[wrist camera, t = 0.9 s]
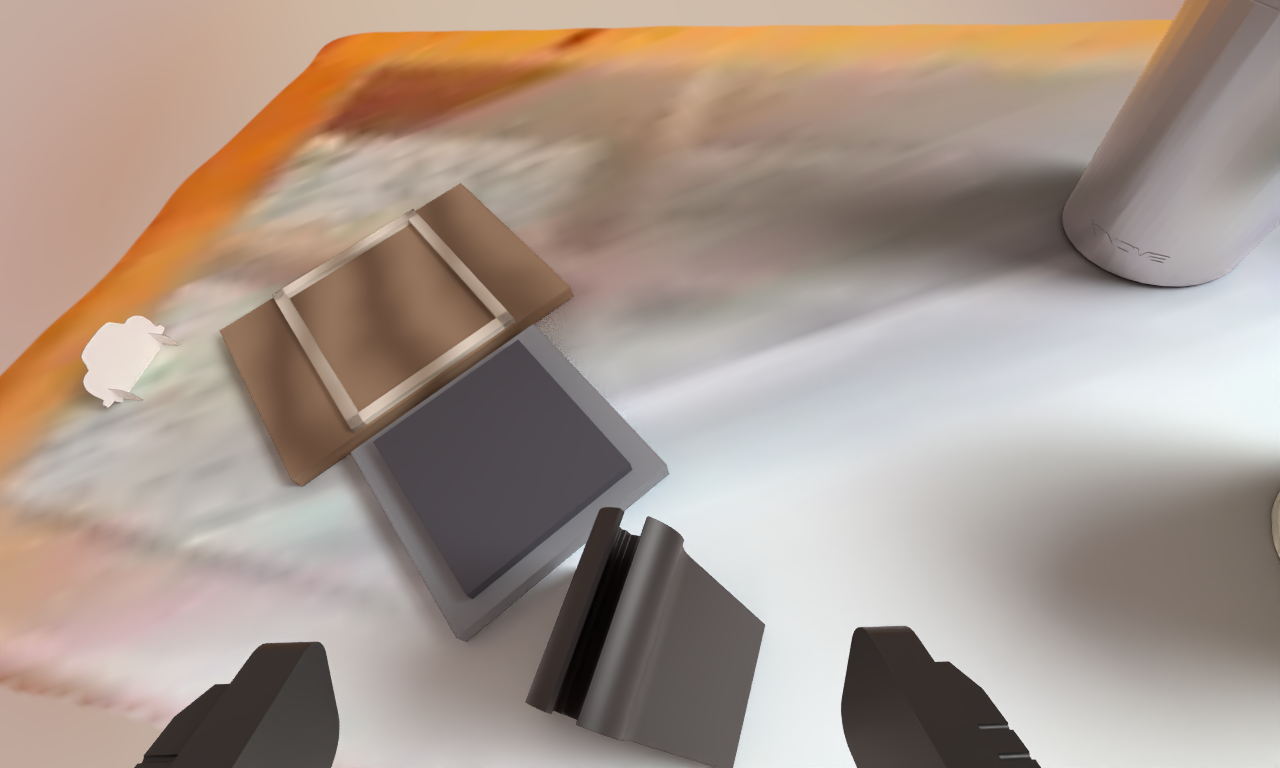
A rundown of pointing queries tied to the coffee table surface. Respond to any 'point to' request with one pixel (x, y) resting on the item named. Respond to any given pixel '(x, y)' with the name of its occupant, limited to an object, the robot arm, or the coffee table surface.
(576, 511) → the ink pad
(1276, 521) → the coffee can
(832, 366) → the coffee table surface
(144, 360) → the car cutout
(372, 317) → the marked board
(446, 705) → the coffee table surface
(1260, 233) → the robot arm
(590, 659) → the phone stand
